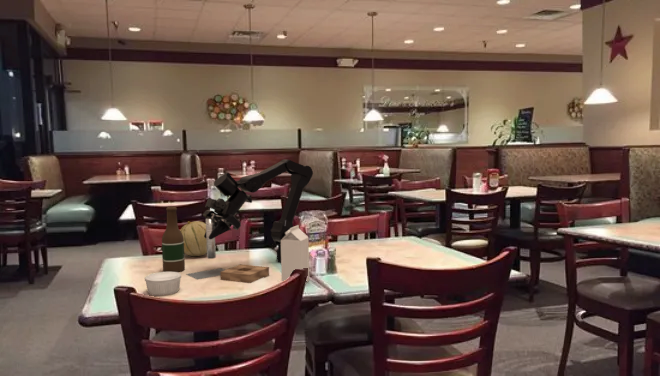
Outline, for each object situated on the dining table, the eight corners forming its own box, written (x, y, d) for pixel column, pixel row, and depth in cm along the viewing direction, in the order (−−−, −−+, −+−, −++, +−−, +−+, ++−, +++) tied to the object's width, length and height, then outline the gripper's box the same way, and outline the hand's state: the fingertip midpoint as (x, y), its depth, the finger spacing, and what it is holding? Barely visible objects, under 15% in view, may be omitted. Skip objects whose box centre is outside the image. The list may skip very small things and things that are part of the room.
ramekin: (161, 298, 164) (161, 281, 164) (137, 293, 170) (136, 277, 170) (189, 290, 174) (188, 273, 173) (165, 285, 180) (164, 270, 179)
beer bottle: (189, 270, 200) (186, 206, 198) (175, 274, 193) (172, 208, 191) (173, 268, 204) (170, 205, 202) (158, 273, 197) (155, 207, 195)
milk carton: (309, 280, 182) (308, 225, 181) (301, 286, 175) (300, 228, 174) (290, 279, 184) (288, 224, 183) (281, 284, 178) (280, 227, 176)
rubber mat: (221, 268, 202) (221, 268, 202) (233, 273, 194) (233, 272, 194) (185, 274, 193) (185, 274, 193) (197, 280, 185) (197, 279, 185)
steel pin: (216, 256, 194) (214, 218, 193) (215, 258, 191) (213, 219, 190) (207, 256, 194) (206, 218, 192) (206, 258, 191) (205, 219, 189)
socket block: (240, 272, 195) (240, 264, 195) (269, 275, 190) (268, 267, 190) (220, 280, 185) (220, 271, 184) (250, 283, 179) (250, 275, 179)
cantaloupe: (221, 255, 226) (220, 219, 225) (191, 261, 215) (190, 224, 214) (200, 250, 236) (199, 216, 235) (171, 256, 225) (169, 221, 224)
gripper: (206, 188, 200) (179, 221, 194) (232, 191, 185) (204, 227, 179) (226, 207, 205) (200, 239, 199) (252, 211, 191) (225, 247, 185)
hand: (207, 238), depth 191 cm, fingers closed on steel pin, 3 cm apart
